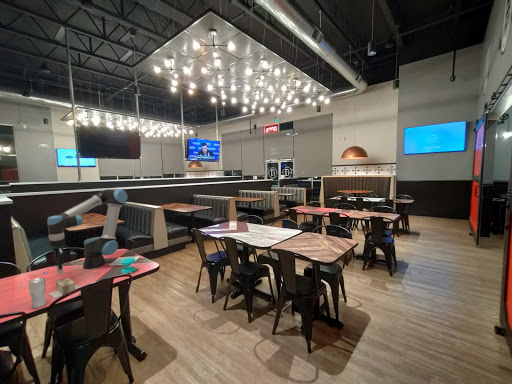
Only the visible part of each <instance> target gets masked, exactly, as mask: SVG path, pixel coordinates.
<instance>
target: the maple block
mask: <svg viewBox="0 0 512 384" xmlns="http://www.w3.org/2000/svg"><path fill="white" fill-rule="evenodd" d="M55 282H56V284H55V285H56V291H58V292H59V293H61V294H62V295H64V296H66V295H65V294H67V293H69V292H71V291H73V290H75V285H76V284H75V281H73V280H72V279H71V278H69V277H66V278H63V279H60V280H57V281H55ZM67 295H68V294H67Z"/></svg>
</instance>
